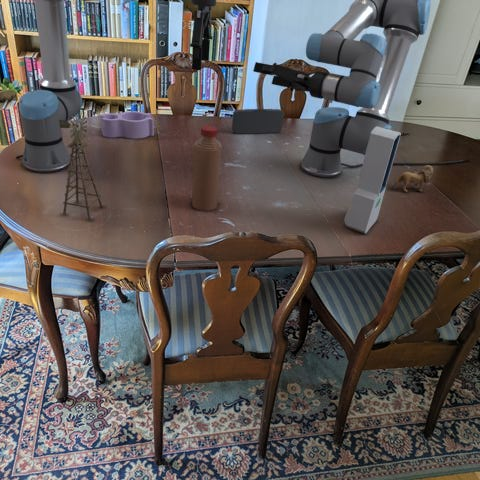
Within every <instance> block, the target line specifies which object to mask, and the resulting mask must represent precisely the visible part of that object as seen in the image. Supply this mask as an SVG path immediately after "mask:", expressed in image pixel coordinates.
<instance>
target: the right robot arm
mask: <svg viewBox="0 0 480 480" xmlns="http://www.w3.org/2000/svg"><path fill="white" fill-rule="evenodd" d="M430 12H431V0H354V1H353V2H352V3H351V5H350V6H349V8H348V11H347V12H346V13H345V14H344V15H343V16H342V17H341V18H340V19H339V20H338V21H336V22H335V24H333V25H332V26H331V27H330V28H329V29H328V30H327V31H326V32H325V33H324V34H323V33H318V32H317V33H316V32H313V33H312V34H310V35H309V37H308V40H307V41H306V45H305V56H306V58H307V59H308V60H310V61H314V62H316V63H321V64H327V65H332V66H337V67H342V68H347V69H350V71H349V75H342V74H338V73H334V72H333V73H332V72H330V73H329V72H327V71H321V70H316V71H315V72H314V73H313V74H312V75H311V76H310V74H308V73H306V72H305V71H300V70H297V69H293V68H289V67H287V66H283V65H280V64H277V62H274V63H272V64H268V63H263V62H259V61H258V62H257V61H255V62H254V66H253V70H252V72H254V73H258V74H263V75H267V76H272V81H271V85H274V86H278V87H283V88H288V89H289V91H290V92H294V91H296V92H307V93H309V95H310V97H312V98H316V99H320V100H322V99H323V100H325V101H326V100H327V101H329V103H330V104H332V103H333V102H335V103H339V104H344V105H349V106H353V107H356V108H360V109H358V110H357V111H356V113H355V116H352V115H350V111H349V110H348V109H346V108H344V107H339V106H338V107H337V106H327V107H322V108H319V109H318V110H317V111H316V112H315V114H314V119H313V121H312V129H311V133H310V140H309V145H308V149H307V150H306V153H305V154H304V156H303V158H302V159H301V163H300V168H301V170H302V171H303V172H304V173H306V174H308V175H310V176H313V177H317V178H323V179H324V178H325V179H331V178H336V177H338V176H340V175H341V173H342V167H347V168H353V169H354V168H358V167H362V165H363V163H359V164H354V165H353V164H352V165H350V164H347V163H343V162H342V158H341V151H342V150H346V151H349V152H353V153H357V154H360V155H363V156H365V153H366V150H367V146H368V142H369V138H370V134H371V132H372V130H373V129H374V128H375V127H381V128H385V129H388V130H393V129H392V125H391V124H390V117H389V115H388V113H389V109H390V107H391V103H392V100H393V97H394V95H395V92H396V89H397V86H398V83H399V80H400V78H401V74H402V71H403V69H404V66H405V63H406V61H407V60H406V59H407V57H408V55H409V51H410V49H411V45H412V44H413V43H416V42H417V41H418V39H419V36H422V35H425V33H426V31H427V28H428V24H429V19H430ZM370 27H376V28H381V29H383V30H382V34H383V36H384V37H385V38H384V37H383V36H382V35H379V34H377V33H371V32H370V33H364V34H362V35H361V38H360V39H359V40H356V38H357V37H358V36H359V35H360V34H361V33H362V32H363V30H366V29H369V28H370ZM465 159H467V157H466V158H465ZM465 161H466V160H463V159H459V160H450V161H437V162H436V161H435V162H393V163H392V166H395V165H397V166H398V165H399V166H400V165H401V166H402V165H403V166H406V165H407V166H422V165H423V166H426V165H429V166H432V165H433V166H434V165H445V164H456V163H462V162H465ZM467 161H468V162H470V163H471V162H472V160H471V159H470V160H467Z"/></svg>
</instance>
